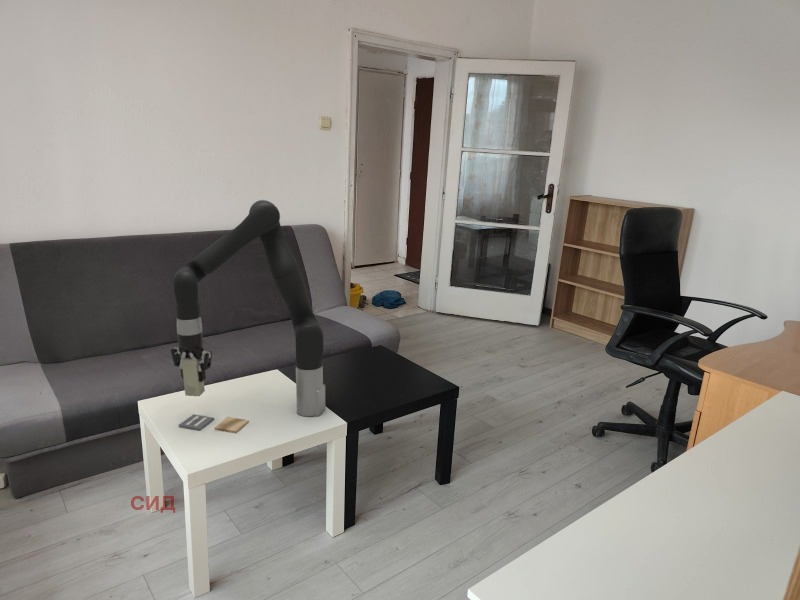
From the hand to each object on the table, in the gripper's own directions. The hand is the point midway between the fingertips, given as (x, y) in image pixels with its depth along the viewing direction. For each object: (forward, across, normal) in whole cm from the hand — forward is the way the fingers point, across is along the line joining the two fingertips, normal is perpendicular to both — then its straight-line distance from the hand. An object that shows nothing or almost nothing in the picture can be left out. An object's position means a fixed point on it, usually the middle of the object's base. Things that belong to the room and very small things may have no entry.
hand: (193, 379), depth 182 cm
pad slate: (+16, 0, 0) cm, 16 cm away
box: (+5, 0, 0) cm, 5 cm away
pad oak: (+16, -12, -2) cm, 20 cm away
